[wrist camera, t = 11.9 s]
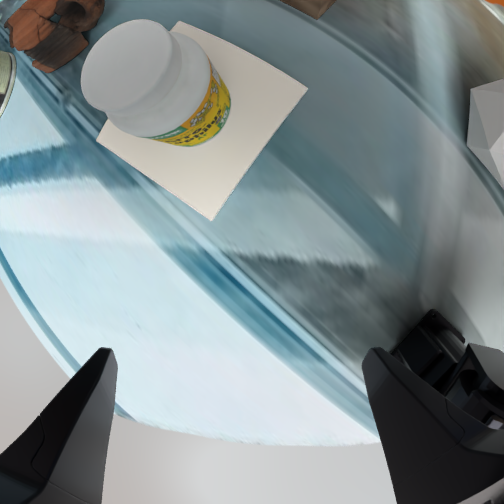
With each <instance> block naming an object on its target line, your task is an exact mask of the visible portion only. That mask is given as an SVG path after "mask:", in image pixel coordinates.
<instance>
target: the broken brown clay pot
mask: <svg viewBox="0 0 504 504" xmlns="http://www.w3.org/2000/svg"><path fill="white" fill-rule="evenodd" d="M104 5H105V0H27V1H26V2H25V3H24V4H23V5H22V6H21V7H20V8H19V9H18V10H17V11H16V12H15V13H14V14H13V15H12V16H11V17H10V18H8V20H7V21H6V23H5V24H4V28H7V27H8V28H9V29H10V34H9V42H10V47H11V48H14V47H15V48H16V49H17V50H18V51H23V50H24V53H25V54H26V55H28V56H30V57H31V58H33V59H36V60H35V61H33V62H32V66H34V67H35V68H37V69H39V70H42V71H44V72H45V73H50V72H52V71H54V70H56V69H58V68H59V67H61V66H63V65H65V64H66V63H67V62H69V61H70V60H72V59H73V58H74V57H76V56H77V55H78V54H79V53H80V52H81V51H82V50H83V49H84V48H85V47H86V46H88V44H89V43H88V41H87V40H86V39H84V36H83V35H82V34H81V32H82V31H88V30H90V29H92V28H94V27H95V26H96V24H97V22H98V19H99V17H100V16H101V15H102V13H103V11H104ZM55 13H56V14H58V15H61V18H60V21H59V23H55V22H53V21H51V20H49V19H50V18H51V17H52V16H53V15H54V14H55Z"/></svg>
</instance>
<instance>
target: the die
mask: <svg viewBox="0 0 504 504" xmlns="http://www.w3.org/2000/svg"><path fill="white" fill-rule="evenodd" d="M467 146H468V147H469V149H470V150H471V151H472V152H473V153H474V154H475V155H476V156H477V157H478V159H479V160H480V161H481V162H482V163H483V164H484V166H485V167H486V168H487V169H488V170H489V172H490V173H491V174H492V175H493V176H494V178H495V179H496V180H497V181H498V183H499V184H500V185H501V187H502V188H503V189H504V79H501V80H498V81H494V82H491V83H488V84H484V85H481V86H478V87H475V88H472V89H471V94H470V114H469V126H468V136H467Z"/></svg>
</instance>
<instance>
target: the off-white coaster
mask: <svg viewBox="0 0 504 504" xmlns="http://www.w3.org/2000/svg"><path fill="white" fill-rule="evenodd" d="M170 31H171V32H177V33H181V34H184V35H186V36H188V37H190V38H192V39H193V40H194V41H196V42H197V43H198V44H199V45H200V46H201V47H202V49H203V50H204V52H205V53H206V55H207V56H208V58H209V59H210V61H211V63H212V64H213V66H214V67H215V69H216V71H217V72H218V74H219V75H220V77H221V79H222V80H223V82H224V83H225V85H226V87H227V89H228V91H229V93H230V96H231V102H232V107H231V113H230V116H229V118H228V121H227V123H226V125H225V127H224V128H223V130H222V131H221V132H220V133H219V134H218V135H217V136H216V137H215V138H213V139H212V140H211V141H209V142H207V143H205V144H202V145H200V146H196V147H181V146H176V145H172V144H168V143H164V142H160V141H155V140H151V139H147V138H141V137H136V136H133V135H130V134H128V133H125V132H123V131H121V130H120V129H118V128H117V127H116V126H115V125H114V124H113V123H112V122H111V121H110V120H109V118H108V120H107V121H106V123H105V125H104V127H103V128H102V130H101V132H100V134H99V136H98V137H97V139H96V141H97V142H99V143H100V144H102V145H103V146H105V147H106V148H107V149H109V150H110V151H112V152H113V153H115V154H116V155H117V156H119V157H120V158H122V159H123V160H125V161H126V162H127V163H129V164H130V165H132V166H133V167H135V168H136V169H137V170H139V171H140V172H142V173H143V174H145V175H146V176H148V177H149V178H150V179H152V180H153V181H155V182H156V183H158V184H159V185H160V186H162V187H163V188H165V189H166V190H168V191H169V192H170V193H172V194H173V195H175V196H176V197H178V198H179V199H180V200H182V201H183V202H185V203H186V204H188V205H189V206H190V207H192V208H193V209H195V210H196V211H198V212H199V213H200V214H202V215H203V216H205V217H206V218H208V219H209V220H210V221H212V220H214V218H215V217H216V215H217V214H218V212H219V211H220V210H221V208H222V207H223V205H224V204H225V202H226V201H227V199H228V198H229V196H230V195H231V194H232V192H233V191H234V189H235V188H236V186H237V185H238V184H239V182H240V181H241V179H242V178H243V176H244V175H245V174H246V172H247V171H248V169H249V168H250V167H251V165H252V164H253V162H254V161H255V160H256V158H257V157H258V156H259V154H260V153H261V151H262V150H263V149H264V147H265V146H266V145H267V143H268V142H269V141H270V139H271V138H272V137H273V135H274V134H275V132H276V131H277V130H278V128H279V127H280V126H281V125H282V123H283V122H284V121H285V119H286V118H287V117H288V115H289V114H290V113H291V111H292V110H293V109H294V108H295V106H296V105H297V104H298V102H299V101H300V100H301V99H302V97H303V96H304V95H305V93H306V92H307V90H308V88H307V87H306V86H304V85H303V84H301V83H300V82H298V81H297V80H295V79H293V78H292V77H290V76H289V75H287V74H285V73H284V72H282V71H280V70H279V69H277V68H275V67H274V66H272V65H270V64H269V63H267V62H265V61H263V60H262V59H260V58H258V57H256V56H254V55H253V54H251V53H249V52H247V51H245V50H243V49H241V48H239V47H237V46H235V45H233V44H231V43H229V42H227V41H225V40H223V39H221V38H219V37H217V36H214V35H212V34H210V33H208V32H205V31H203V30H201V29H199V28H196V27H194V26H191V25H189V24H186V23H184V22H181V21H178V22H177V24H176V25H175V26H174V27H173V28H172V29H171V30H170Z"/></svg>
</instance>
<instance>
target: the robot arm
mask: <svg viewBox="0 0 504 504" xmlns="http://www.w3.org/2000/svg"><path fill="white" fill-rule="evenodd" d="M433 314H434V316H433V317H432V315H433ZM464 343H465V338H464V337H463V336H462V335H461V334H460V333H459V332H458V331H457V330H456V329H455V328H454V327H453V326H452V325H451V324H450V323H449V322H448V321H447V320H446V319H445V318H444V317H443V316H442V315H441V314H440V313H439V312H438V311H436V310H435V309H432V310H430V311H429V312H428V313H427V315H426V316H425V317H424V318H423V319H422V320H421V322H420V323H419V324H418V325H417V326H416V327H415V329H414V330H413V331H412V332H411V333H410V334H409V335H408V337H407V338H406V339H405V340H404V341H403V342H402V343H401V344H400V345H399V346H398V347H397V348H396V349H395V351H394V352H393V353H392V354H391V355H390V354H389V353H388V352H387V351H385V350H384V349H383V348H381V347H374V348H371V349H369V351H368V353H367V355H366V356H365V358H364V360H363V362H362V370H363V375H364V380H365V385H366V389H367V394H368V399H369V403H370V406H371V409H372V413H373V416H374V419H375V422H376V426H377V429H378V432H379V436H380V439H381V443H382V446H383V450H384V453H385V457H386V461H387V465H388V468H389V472H390V476H391V480H392V484H393V488H394V492H395V497H396V501H397V504H504V353H503V352H502V351H501V350H499V349H494V348H490V347H485V346H481V345H477V344H472V343H468V345H467V347H466V346H465V345H464ZM117 371H118V366H117V362H116V359H115V355H114V352H113V350H112V349H111V348H104V347H101V348H99V349H98V350H97V351H96V352H95V353H94V354H93V355H92V356H91V358H90V359H89V360H88V361H87V362H86V363H85V364H84V365H83V366H82V367H81V368H80V369H79V371H78V372H77V373H76V374H75V375H74V376H73V377H72V378H71V379H70V380H69V382H68V383H67V384H66V385H65V386H64V387H63V388H62V390H60V392H59V393H58V394H57V395H56V396H55V397H54V398H53V400H52V401H51V402H50V403H49V404H48V405H47V406H46V407H45V409H44V410H43V411H42V412H41V413H40V416H38V417H37V418H36V419H35V420H34V421H33V422H32V424H31V425H30V426H29V427H28V428H27V429H26V430H25V431H24V432H23V433H22V434H21V435H20V436H19V437H18V438H17V439H16V440H15V441H14V442H13V443H12V444H11V445H10V446H9V447H8V448H7V449H6V450H5V451H3V453H1V454H0V504H101V502H102V491H103V481H104V472H105V464H106V456H107V449H108V442H109V436H110V430H111V424H112V419H113V413H114V405H115V392H116V381H117Z"/></svg>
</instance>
